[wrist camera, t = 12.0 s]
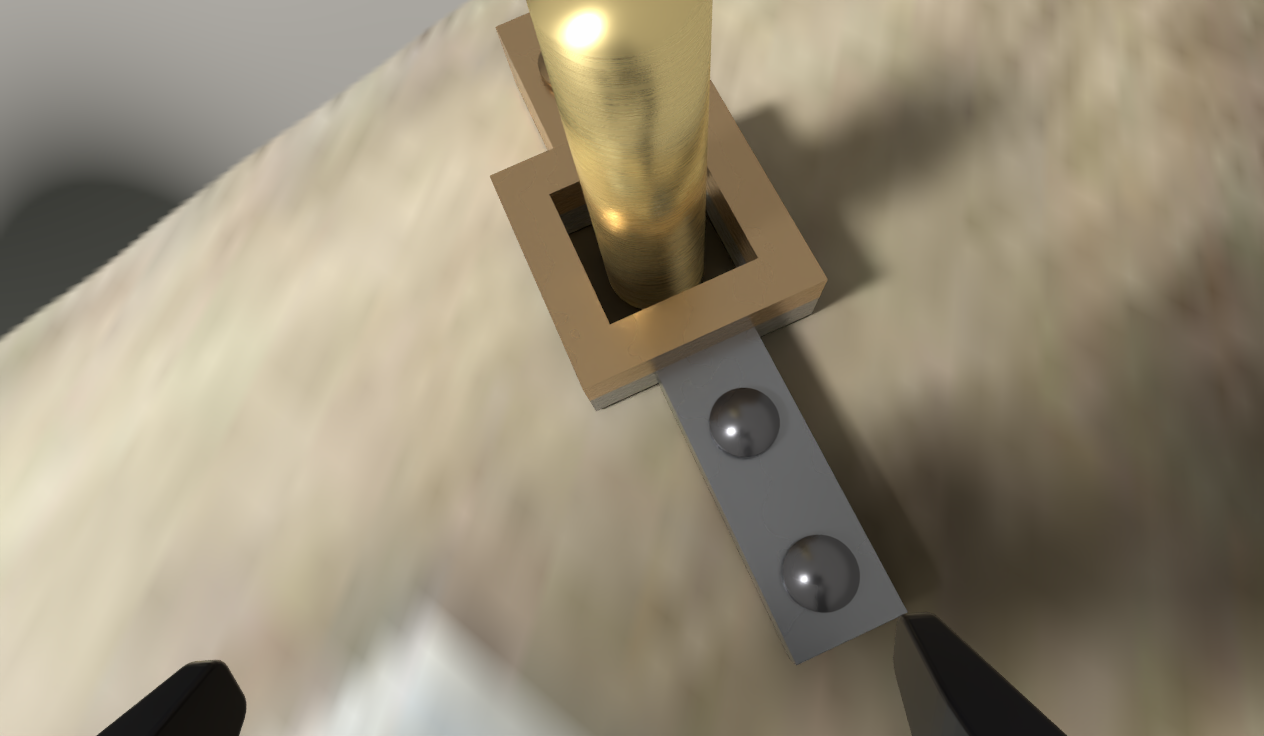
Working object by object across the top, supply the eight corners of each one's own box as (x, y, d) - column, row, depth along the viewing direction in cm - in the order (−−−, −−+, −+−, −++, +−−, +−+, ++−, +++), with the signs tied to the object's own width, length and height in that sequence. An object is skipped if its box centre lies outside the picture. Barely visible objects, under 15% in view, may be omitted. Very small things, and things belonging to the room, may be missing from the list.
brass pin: (720, 285, 25) (746, 5, 12) (630, 326, 25) (566, 83, 12) (678, 206, 26) (664, -125, 14) (591, 245, 26) (497, -54, 13)
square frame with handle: (961, 576, 21) (1009, 578, 18) (719, 691, 21) (724, 714, 18) (647, 25, 28) (642, -45, 25) (461, 105, 28) (431, 44, 25)
